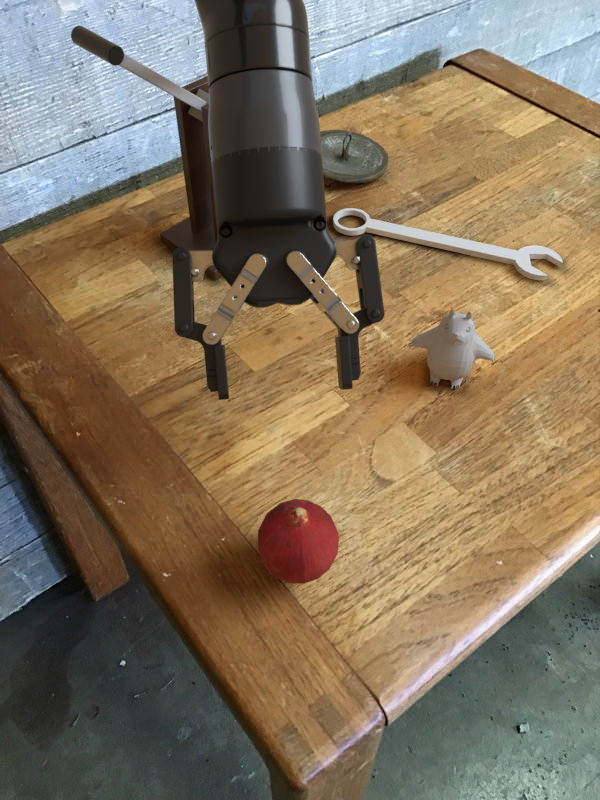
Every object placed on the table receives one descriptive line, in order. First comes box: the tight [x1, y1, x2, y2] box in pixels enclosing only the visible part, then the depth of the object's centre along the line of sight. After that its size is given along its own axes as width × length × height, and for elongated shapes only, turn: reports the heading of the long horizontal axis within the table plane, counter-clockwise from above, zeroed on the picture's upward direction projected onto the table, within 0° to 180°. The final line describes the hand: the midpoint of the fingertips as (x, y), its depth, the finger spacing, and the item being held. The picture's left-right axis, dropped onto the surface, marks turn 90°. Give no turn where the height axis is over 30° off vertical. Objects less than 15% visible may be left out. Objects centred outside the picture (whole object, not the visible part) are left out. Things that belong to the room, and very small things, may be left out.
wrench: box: [332, 207, 564, 282], centre depth 79 cm, size 25×1×5 cm
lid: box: [320, 129, 389, 184], centre depth 88 cm, size 11×10×5 cm
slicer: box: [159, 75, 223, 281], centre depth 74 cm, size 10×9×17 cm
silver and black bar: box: [70, 25, 209, 122], centre depth 63 cm, size 16×5×2 cm
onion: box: [257, 498, 340, 585], centre depth 52 cm, size 6×6×8 cm
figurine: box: [407, 308, 497, 390], centre depth 65 cm, size 8×6×8 cm
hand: (285, 393), depth 51 cm, fingers open, 8 cm apart
